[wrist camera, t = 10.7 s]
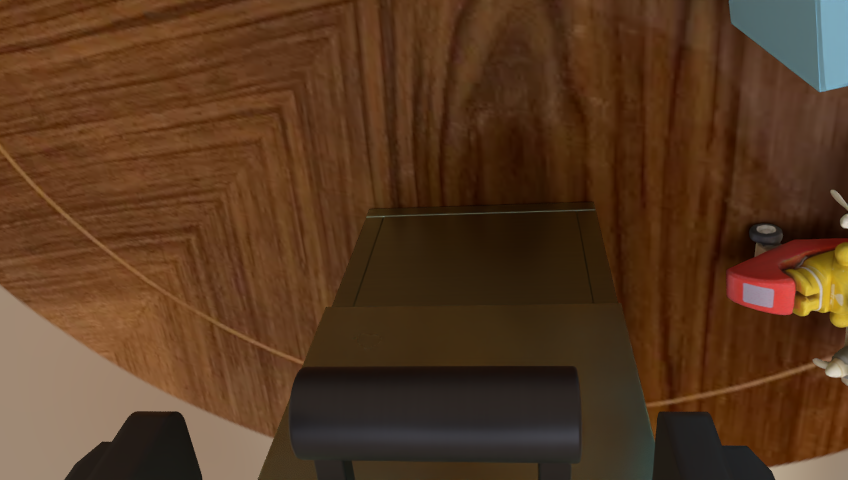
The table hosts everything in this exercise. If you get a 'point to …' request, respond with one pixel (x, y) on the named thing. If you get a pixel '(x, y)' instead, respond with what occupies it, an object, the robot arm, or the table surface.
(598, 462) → the lid
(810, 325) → the table surface
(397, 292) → the green storage bin
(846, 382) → the toy airplane
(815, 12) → the teapot
